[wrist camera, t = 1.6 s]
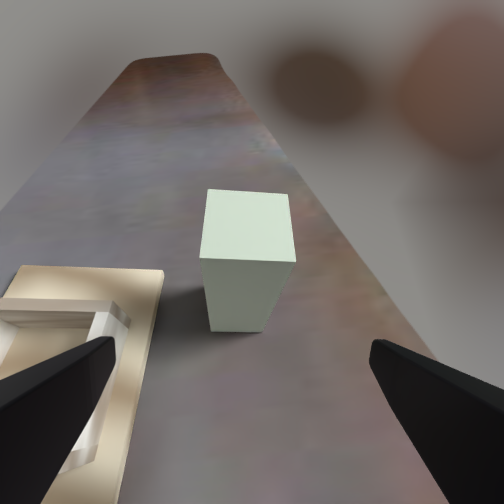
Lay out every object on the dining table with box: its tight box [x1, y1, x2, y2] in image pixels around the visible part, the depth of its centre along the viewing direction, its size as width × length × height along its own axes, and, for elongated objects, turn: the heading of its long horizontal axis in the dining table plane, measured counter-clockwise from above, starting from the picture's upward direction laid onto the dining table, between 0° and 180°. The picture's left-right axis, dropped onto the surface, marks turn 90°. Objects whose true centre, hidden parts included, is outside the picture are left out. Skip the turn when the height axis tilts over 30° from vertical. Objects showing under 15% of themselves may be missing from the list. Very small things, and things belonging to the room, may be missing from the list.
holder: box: [0, 265, 164, 504], centre depth 16 cm, size 18×12×5 cm, turn 1°
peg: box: [200, 189, 296, 332], centre depth 17 cm, size 4×4×12 cm
